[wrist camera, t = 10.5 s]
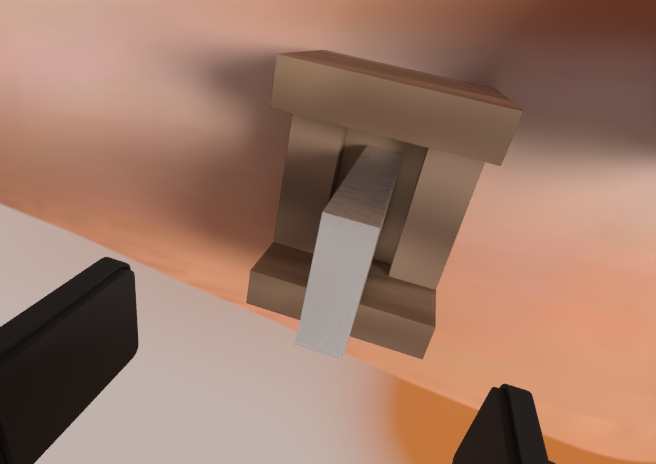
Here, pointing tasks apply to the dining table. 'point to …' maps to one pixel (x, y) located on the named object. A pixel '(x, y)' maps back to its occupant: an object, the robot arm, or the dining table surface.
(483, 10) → the dining table surface
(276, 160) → the dining table surface
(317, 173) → the wooden spool frame
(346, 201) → the grey slab
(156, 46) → the dining table surface
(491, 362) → the dining table surface
